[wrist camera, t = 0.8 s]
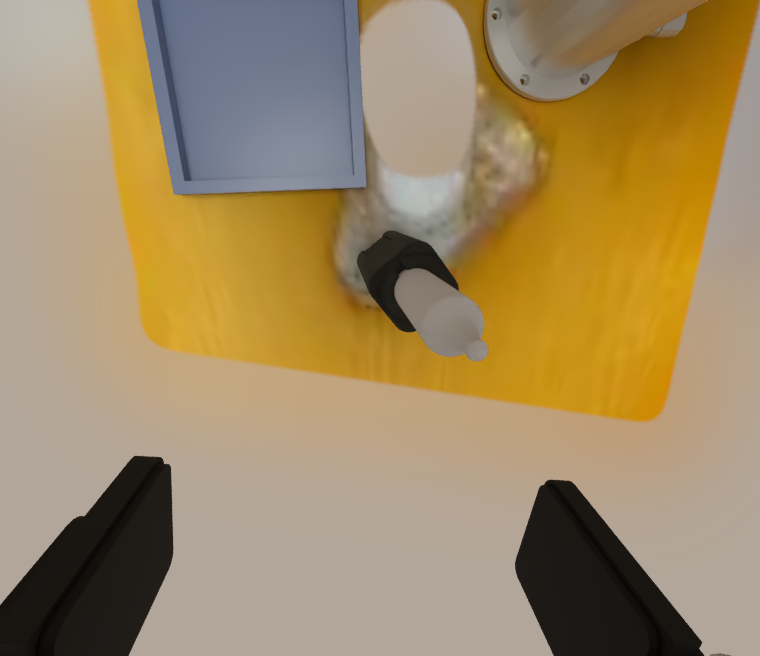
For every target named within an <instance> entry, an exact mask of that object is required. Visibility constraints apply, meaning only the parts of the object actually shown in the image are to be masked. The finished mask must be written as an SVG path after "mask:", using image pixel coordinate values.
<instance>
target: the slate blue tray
mask: <svg viewBox="0 0 760 656" xmlns="http://www.w3.org/2000/svg"><path fill="white" fill-rule="evenodd" d="M137 3H138V8H139V13H140V19H141V24H142V29H143V34H144V40H145V45H146V50H147V55H148V61H149V66H150V71H151V76H152V82H153V87H154V92H155V97H156V103H157V108H158V113H159V118H160V124H161V129H162V134H163V140H164V145H165V150H166V155H167V161H168V166H169V171H170V176H171V182H172V187H173V192H174V194H175V195H205V194H231V193H256V192H282V191H308V190H333V189H359V188H366V167H365V146H364V126H363V106H362V85H361V65H360V44H359V24H358V4H357V0H137Z"/></svg>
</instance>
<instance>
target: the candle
mask: <svg viewBox="0 0 760 656" xmlns="http://www.w3.org/2000/svg"><path fill="white" fill-rule="evenodd" d="M357 264H358V267H359V269H360V272H361V274H362V276H363V279H364V281H365V283H366V286H367V288H368V290H369V293H370V294H371V296H372V297H373V299H374V300H375V301H376V302H377V303H378V305H379V306H380V307H381V308H382V310H383V311H384V312H385V313H386V314H387V316H388V317H389V318H390V319H391V321H392V322H393V323H394V324H395V326H396V327H397V328H398V329H400V330H402V331H404V332H414V331H417V332H418V334H419V335H420V336H421V338H422V339H423V341H424V342H425V344H426V345H427V346H428V347H429V348H430V349H431V350H432V351H433V352H435V353H437V354H439V355H442V356H447V357H454V356H459V355H462V354H465V353H466V355H467V357H468V358H469V359H470V360H472V361H481V360H483V359H484V358H485V357H486V356H487V354H488V346H487V344H486V343H485V342H484V341H483V340H480V338H481V336H482V333H483V330H484V319H483V314H482V312H481V310H480V308H479V306H478V305H477V304H476V303H475V302H474V301H473V300H471V299H470V298H468V297H467V296H465V295H464V294H462V293H461V292H459V288H458V284H457V282H456V280H455V278H454V277H453V276H452V274H451V273H450V271H449V270H448V269H447V267H446V266H445V264H444V263H443V262H442V260H441V259H440V257H439V256H438V255H437V253H436V252H435V251H434V249H433V248H432V247H431V246H430V245H429V244H427V243H426V242H423V241H420V240H418V239H415V238H412V237H409V236H407V235H404V234H401V233H398V232H395V231H388V232H386V233H384V234H383V237H382V238H381V239H380V240H378V241H377V242H376V243H375V244H373V245H372V246H371V247H370V248H369V249H367V250H366V251H362V252H361V253H360V254H359V256H358V259H357Z"/></svg>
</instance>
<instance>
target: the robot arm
mask: <svg viewBox="0 0 760 656" xmlns="http://www.w3.org/2000/svg"><path fill="white" fill-rule="evenodd" d="M707 1H708V0H486V2H485V8H484V22H483V24H484V36H485V42H486V46H487V50H488V54H489V57H490V59H491V61H492V64H493V66H494V68H495V70H496V71H497V73H498V74H499V76H500V77H501V79H502V80H503V81H504V82H505V83H506V84H507V85H508V86H509V87H510V88H511V89H512V90H513V91H515V92H516V93H518V94H520V95H521V96H523V97H525V98H528V99H531V100H534V101H541V102H554V101H561V100H564V99H567V98H569V97H572V96H574V95H576V94H578V93H580V92H582V91H584V90H586V89H587V88H588V87H590V86H591V85H593V84H594V83H595V82H597V80H598V79H599V78H600V77H601V76H602V75H603V74H604V73H605V72H606V71H607V70H608V68H609V67H610V65H611V64H612V62H613V61H614V60H615V58H616V56H617V54H618V52H619V50H620V49H622V48H624V47H626V46H627V45H629V44H631V43H633V42H635V41H639V40H640V39H641V38H642V37H644V36H650V37H674V36H676V35H677V34H678V33H679V32H680V31H681V30H682V28H683V26H684V24H685V22H686V18H687V12H689V11H690V10H692V9H694V8H696V7H698V6H699V5H701V4H703V3H705V2H707ZM492 16H494V17H495V20H494V19H493V17H492ZM520 80H521V81H522V83H523V84H521V83H520ZM580 81H581V82H580ZM172 525H173V523H172V487H171V467H170V465H169V464H164V461H163V459H162V458H161V457H145V456H134V457H133V458H132V459H131V460H130V461H129V462H128V463H127V465H126V466H125V467H124V468H123V470H122V471H121V472H120V473H119V475H118V476H117V477H116V478H115V479H114V481H113V482H112V483H111V484H110V486H109V487H108V488H107V489H106V491H105V492H104V493H103V494H102V496H101V497H100V498H99V499H98V501H97V502H96V503H95V504H94V505H93V507H92V508H91V509H90V510H89V512H88V513H87V514H86V515H85V516H79V517H77V518H75V519H73V520H72V521H71V522H70V524H68V525H67V526H66V527H65V529H64V530H63V531H62V532H61V533H60V535H59V536H58V537H57V538H56V539H55V540H54V542H53V543H52V544H51V545H50V546H49V548H48V549H47V550H46V551H45V552H44V554H43V555H42V556H41V557H40V558H39V560H38V561H37V562H36V563H35V564H34V565H33V567H32V568H31V569H30V570H29V571H28V573H27V574H26V575H25V576H24V577H23V579H22V580H21V581H20V582H19V583H18V585H17V586H16V587H15V588H14V589H13V591H12V592H11V593H10V594H9V595H8V596H7V598H6V599H5V600H4V601H3V602H2V604H1V605H0V656H128V655H129V653H130V651H131V649H132V647H133V644H134V642H135V640H136V638H137V636H138V634H139V632H140V630H141V627H142V626H143V623H144V621H145V619H146V617H147V615H148V612H149V610H150V608H151V606H152V604H153V602H154V600H155V597H156V595H157V593H158V591H159V589H160V587H161V585H162V583H163V580H164V578H165V576H166V574H167V572H168V570H169V567H170V565H171V561H172V557H173V526H172ZM515 569H516V574H517V577H518V579H519V581H520V583H521V586H522V588H523V590H524V592H525V594H526V596H527V598H528V601H529V603H530V605H531V607H532V609H533V612H534V614H535V616H536V618H537V620H538V622H539V625H540V626H541V629H542V631H543V633H544V635H545V638H546V640H547V642H548V644H549V646H550V648H551V651H552V653H553V655H554V656H704V654H703V653H702V652H701V651H700V649H699V648H700V646H701V644H702V642H701V640H700V639H699V638H698V636H697V635H696V634H695V633H694V632H693V630H692V629H691V628H690V627H689V625H688V624H687V623H686V622H685V621H684V619H683V618H682V617H681V615H680V614H679V613H678V612H677V611H676V610H675V608H674V607H673V606H672V604H671V603H670V602H669V601H668V599H667V598H666V597H665V596H664V594H663V593H662V592H661V591H660V590H659V588H658V587H657V586H656V585H655V583H654V582H653V581H652V580H651V578H650V577H649V576H648V575H647V574H646V572H645V571H644V570H643V569H642V567H641V566H640V565H639V564H638V563H637V561H636V560H635V559H634V557H633V556H632V555H631V554H630V553H629V551H628V550H627V549H626V547H625V546H624V545H623V544H622V543H621V541H620V540H619V539H618V538H617V536H616V535H615V534H614V533H613V532H612V530H611V529H610V528H609V527H608V525H607V524H606V523H605V521H604V520H603V519H602V518H601V517H600V515H599V514H598V513H597V512H596V510H595V509H594V508H593V507H592V506H591V504H590V503H589V502H588V500H587V499H586V498H585V497H584V496H583V494H582V493H581V492H580V491H579V490H578V488H577V487H576V486H575V485H574V484H573V483H572V482H570V481H563V480H548V481H546V482H545V484H544V485H542V486H540V488H539V490H538V493H537V497H536V499H535V503H534V505H533V509H532V512H531V515H530V518H529V521H528V524H527V527H526V530H525V533H524V536H523V539H522V542H521V545H520V548H519V552H518V555H517V558H516V562H515ZM710 656H730V655H725V654H721V653H719V654H711V655H710Z"/></svg>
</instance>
